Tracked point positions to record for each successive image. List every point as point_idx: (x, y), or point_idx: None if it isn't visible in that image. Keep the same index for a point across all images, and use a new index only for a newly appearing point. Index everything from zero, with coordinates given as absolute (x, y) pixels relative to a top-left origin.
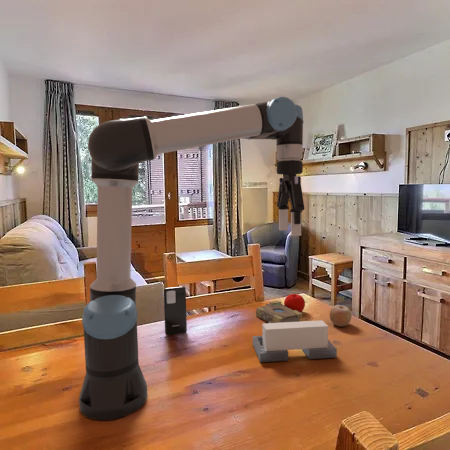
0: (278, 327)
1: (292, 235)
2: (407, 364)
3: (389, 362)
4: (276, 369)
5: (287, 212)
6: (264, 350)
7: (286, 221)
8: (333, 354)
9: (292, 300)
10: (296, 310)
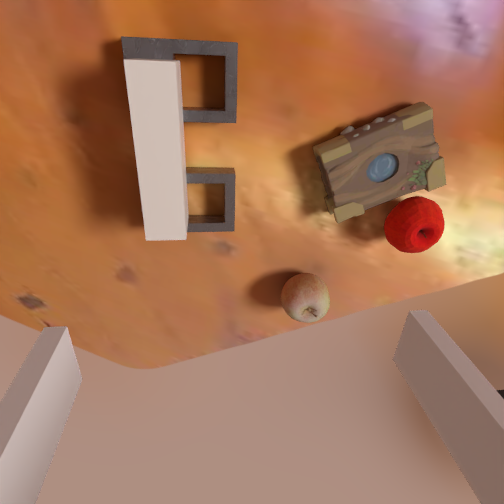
0: (139, 107)
1: (44, 334)
2: (124, 322)
3: (132, 301)
4: (97, 75)
5: (482, 501)
6: (140, 55)
7: (432, 408)
8: None
9: (405, 220)
10: (361, 214)
